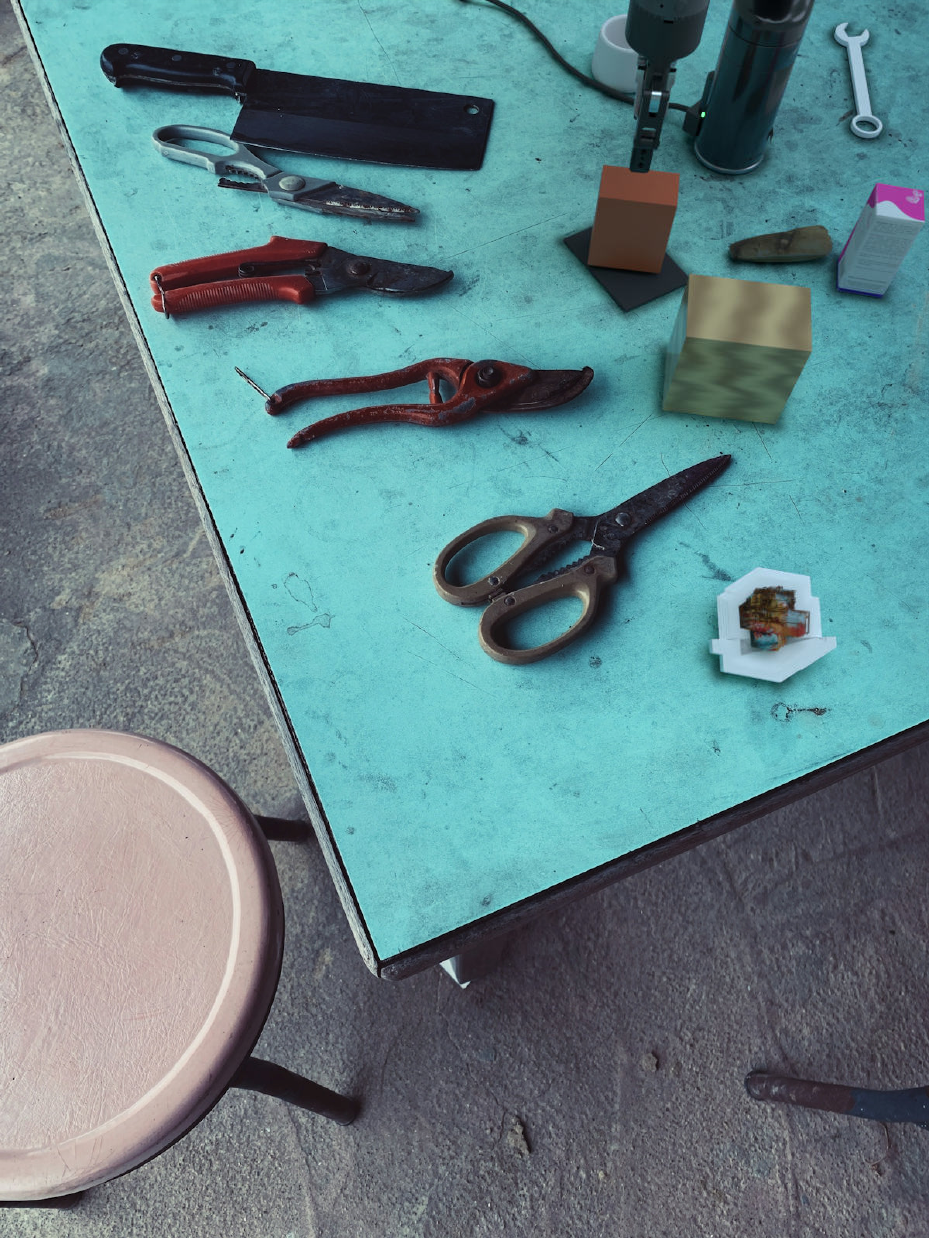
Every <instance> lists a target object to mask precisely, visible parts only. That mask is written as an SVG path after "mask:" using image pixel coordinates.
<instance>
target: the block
mask: <svg viewBox="0 0 929 1238" xmlns="http://www.w3.org/2000/svg"><path fill="white" fill-rule="evenodd" d="M679 191H680V173H679V172H670V171H661V170H653V169H650V170H649V172H648V173H636V172H631V171H630V170H629V167H626V166H617V165H609V164H603V165H602V168H601V174H600V181H599V187H598V192H597V200H596V203H595V204H596V206H595V210H594V216H593V223H592V226H593V228H592V234H591V242H590V249H589V257H588V265H594V266H603V267H611V268H619V269H627V270H636V271H644V272H652V273H660V271H661V267H662V263H663V259H664V255H665V252H666V253H667V247H668V243H669V241H670V240H669V239H670V235H671V232H672V228H673V225H674V220H675V217H676V213H677V210H678V205H679V204H678V203H679V202H678V201H679Z"/></svg>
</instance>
